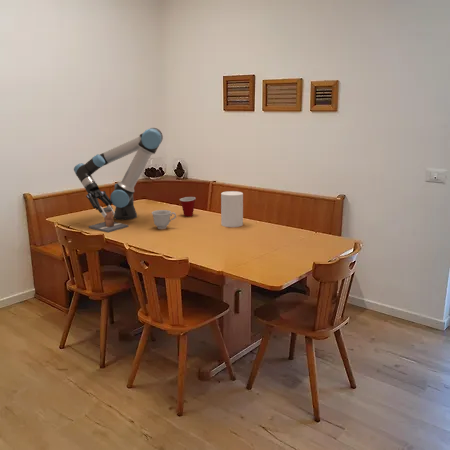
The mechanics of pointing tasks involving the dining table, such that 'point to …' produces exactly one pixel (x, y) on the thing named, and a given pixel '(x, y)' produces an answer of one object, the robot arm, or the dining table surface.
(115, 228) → the board
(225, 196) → the canister
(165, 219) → the teacup
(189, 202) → the plastic cup
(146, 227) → the dining table surface
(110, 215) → the spice shaker
